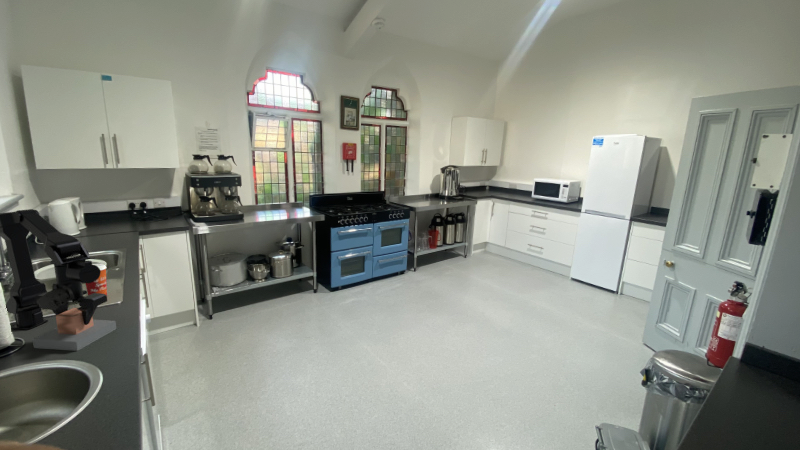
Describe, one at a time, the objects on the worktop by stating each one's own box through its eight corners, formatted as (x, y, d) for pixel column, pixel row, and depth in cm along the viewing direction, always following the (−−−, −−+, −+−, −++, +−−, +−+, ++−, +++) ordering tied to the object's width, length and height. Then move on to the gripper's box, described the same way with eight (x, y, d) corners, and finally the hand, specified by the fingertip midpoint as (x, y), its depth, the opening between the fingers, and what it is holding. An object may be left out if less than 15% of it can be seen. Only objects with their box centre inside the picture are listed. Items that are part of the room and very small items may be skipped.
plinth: (33, 348, 106) (32, 339, 106) (77, 326, 120) (76, 318, 120) (77, 350, 106) (76, 341, 105) (116, 328, 120) (115, 320, 119)
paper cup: (95, 302, 139) (91, 269, 136) (80, 300, 140) (76, 267, 137) (115, 295, 146) (111, 264, 144) (100, 293, 148) (96, 262, 145)
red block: (58, 333, 110) (55, 315, 109) (76, 324, 116) (74, 307, 114) (76, 334, 109) (73, 316, 108) (93, 325, 115) (91, 308, 114)
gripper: (11, 285, 102) (20, 334, 104) (72, 289, 101) (79, 338, 104) (50, 273, 112) (57, 317, 115) (105, 276, 112) (111, 321, 115)
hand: (75, 323), depth 112 cm, fingers open, 7 cm apart
